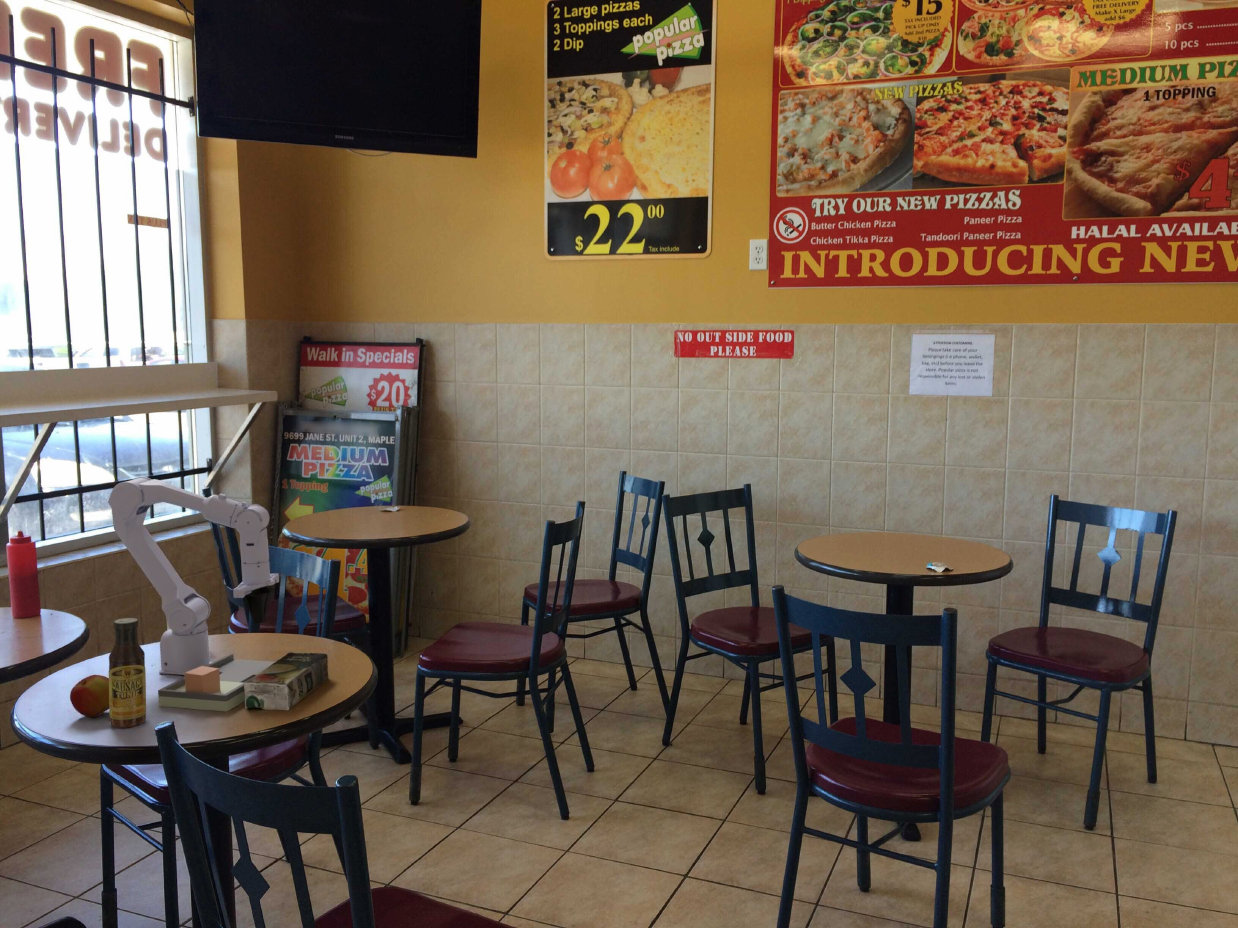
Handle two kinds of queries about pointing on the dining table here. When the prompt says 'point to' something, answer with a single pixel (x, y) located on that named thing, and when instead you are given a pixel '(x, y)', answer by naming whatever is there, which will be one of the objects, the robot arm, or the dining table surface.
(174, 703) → the trap tray
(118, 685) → the sauce bottle
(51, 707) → the dining table surface
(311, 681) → the juice carton
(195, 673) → the block
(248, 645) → the dining table surface
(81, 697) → the apple
